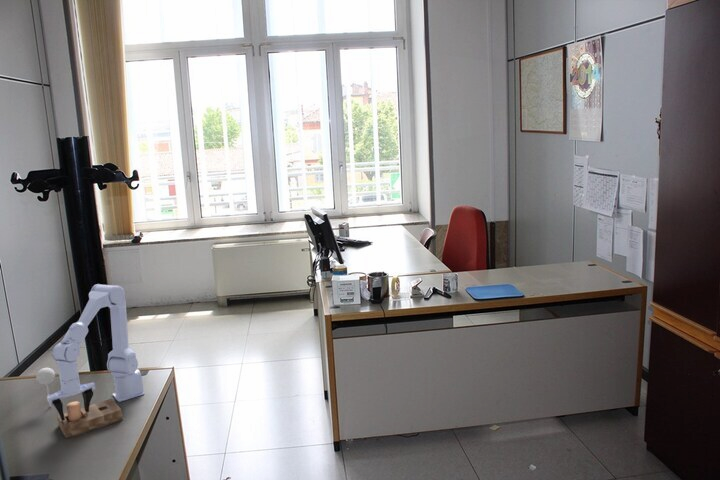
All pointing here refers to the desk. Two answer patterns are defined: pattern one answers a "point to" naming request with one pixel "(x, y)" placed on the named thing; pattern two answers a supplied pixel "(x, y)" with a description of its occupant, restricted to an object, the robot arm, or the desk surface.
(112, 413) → the socket block
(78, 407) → the pin
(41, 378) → the lollipop
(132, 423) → the desk surface
